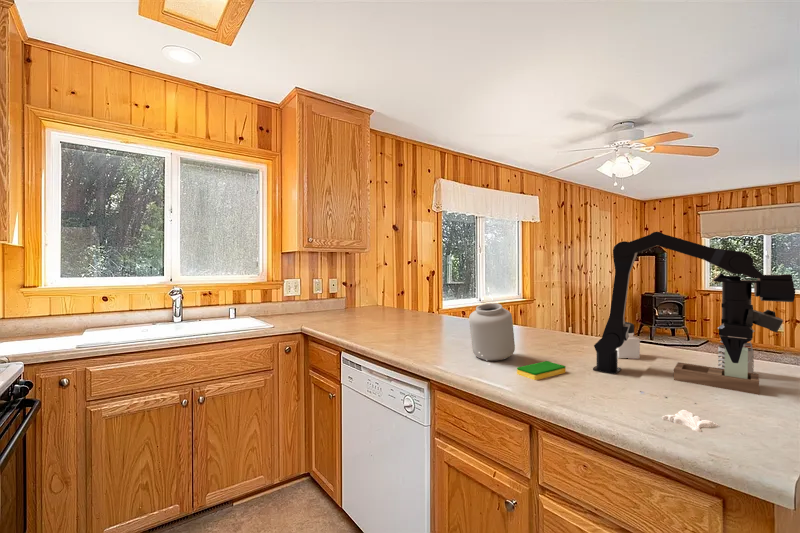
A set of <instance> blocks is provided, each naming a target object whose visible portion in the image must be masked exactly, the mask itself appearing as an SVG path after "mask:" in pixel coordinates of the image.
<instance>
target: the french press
mask: <svg viewBox="0 0 800 533" xmlns="http://www.w3.org/2000/svg"><path fill="white" fill-rule="evenodd" d="M717 329H718V330H719V326H718V327H717ZM754 332H755V330H754V329H753V333H754ZM751 341H752V340H751ZM751 341H749V342H747V343H745V344H744V345H743V347H745V348H748V373H755V371H754V369H755V368H754V367H755V366H754V365H755V364H754V363H755V362H754V360H755V359H754V357H755V356H754V355H755V351H754V349H753V344H752V342H751ZM719 342H720V344H721V345H718V347H717V353H718V354H717V357H718V359H717V362H718V363H717V368H721V369H725V346H724V344H723V342H722V340H721V339H720V341H719Z"/></svg>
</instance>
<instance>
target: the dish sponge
mask: <svg viewBox="0 0 800 533" xmlns="http://www.w3.org/2000/svg"><path fill="white" fill-rule="evenodd" d="M566 371H567V370H566V365H562V364H559V363H555V362H552V361H549V360H545V361H541V362H537V363H532V364H527V365H523V366H518V367H516V374H517V375H519V376H521V377H524V378H528V379H531V380H534V381H539V380H542V379H547V378H550V377H553V376H554V377H555V376H558V375H560V374H561V375H562V374H565V373H566Z"/></svg>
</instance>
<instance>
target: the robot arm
mask: <svg viewBox="0 0 800 533" xmlns="http://www.w3.org/2000/svg"><path fill="white" fill-rule="evenodd" d="M655 247H660V248H664V249H666V250H670V251H673V252H678V253H679V254H684V255H686V256H691V257H694V258H696V259H700V260H703V261H705V262H707V263H710V264H712V265H714V266H716V267H718V268H721V270H724V271H726V272H728V273H731V274H736V275H725V274H724V273H723V272H720V273H719V274H718V275H717V276H716V277H714V278H713V279H712V280H713V282H714V283H722V284H721V322H720V325H719V326H718V327H719V329H718V336H719V338H720V341H721V340H722V342H723V344H722V345H724V346H725V348H726V350H727V352H728V354H729V356H730V359H731V361H732V362H733V363H738V362H739V359H740V355H741V352H742V348H743V345H744V344H745V343H750V342H749V341H752V340H753V338H754V337H753V336H754V332H753V330H754V329H753V327H754V325H755V326H759V327H762V328H765V329H768V330H769V331H771V332H774V333H778V332H779V330H780V328H781V326H782V325H783V322H784V320H783V319H782V318H780V317H779V316H776V312H775V311H773V310H770V309H766V310H763V311H759V310H755V309H754V305H753V304H752V296H753V295H752V294H753V293H754V297H757V298H758V297H759V299H760V301H761V302H779V303H781V302H783V303H794V301H795V297H796V288H795V286H794V285H795V283H794V279H793V274H791V273H790V274H789V273H788V274H787V273H783V274H763V273H762V272H761V271H760V270H759V269H758V268H757V267H755V266H754V260H753V257H752V256H751V255H750V254H749V253H746V252H745V251H738V250H731V249H724V248H715V247H710V246H706V245H704V244H703V245H702V244H700V243H696V242H692V241H688V240H685V239H682V238H679V237H675V236H671V235H669V234H665V233H662V232H661V231H653V232H651V233H649V234H647V235H645V236H642V237H639V238H637V239H634V240H631V241H626V240H625V241H620V242H617V244H615V245H614V246H613V249H612V255H613V256H612V257H613V259H612V260H613V266H614V278H613V287H612V295H611V303H610V310H609V317H608V319H607V321H606V324H605V327H604V330H603V332H602V336H601V338H600V339H598V341H597V342H596V343H594V345H593V347H594V349H595V352H596V365H595V366H594V367H592V370H593V371H597V372H603V373H608V374H614V375H616V374H618V373H619V372H620V371H621V370H622V368H621V367H618V366H619V365H618V364H619V363H618V359H619V358H618V351H617V350H616V349H617V348H619V347H620V346H622V344H623V343H624V341H627V339H628V338H629V334H628V331H629V328H630V324H625V322H626V320H625V314H626V307H627V300H628V292H629V284H630V275H631V273H632V272H631V271H632V270H633V269H632V268H633V266H634V264H635V261H636V258H637V255H638V254H640V253H643V252H645V251H647V250H650V249H652V248H655ZM740 275H744V276H746V277H747V278H751V279H750V280H749V279H741V276H740ZM753 279H754V280H753ZM755 279H757V280H755ZM752 284H754V286H752ZM752 287H754V288H752ZM752 289H754V290H753V293H752Z"/></svg>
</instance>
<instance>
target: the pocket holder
mask: <svg viewBox="0 0 800 533" xmlns="http://www.w3.org/2000/svg"><path fill="white" fill-rule="evenodd" d="M673 381H677V382H683V383H689V384H695V385H700V386H706V387H711V388H717V389H722V390H727V391H735V392H741V393H746V394H751V395H756V396H757V395H758V396H759V395H760V377H759V373H755V372H754V373H748V379H744V378H737V377H731V376H725V369H721V368H718V367H715V366H714V367H713V366H712V367H711V366H706V365H699V364H692V363H686V362H685V363H684V362H679V361H678V362H677V364H676V365H675V367H674V368H673Z"/></svg>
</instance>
